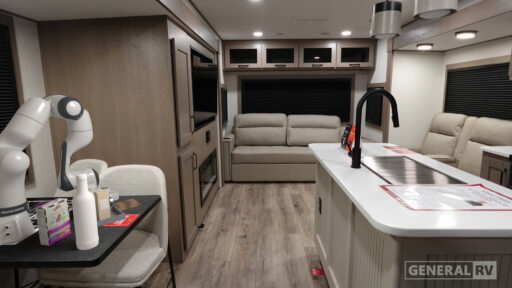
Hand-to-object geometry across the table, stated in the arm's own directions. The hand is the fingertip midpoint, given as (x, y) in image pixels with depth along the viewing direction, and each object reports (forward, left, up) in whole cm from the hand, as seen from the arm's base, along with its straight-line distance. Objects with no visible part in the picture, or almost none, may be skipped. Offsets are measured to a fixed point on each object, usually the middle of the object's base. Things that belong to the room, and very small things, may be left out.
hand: (101, 203), depth 141 cm
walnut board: (+15, +9, -8) cm, 19 cm away
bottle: (-13, -23, -8) cm, 27 cm away
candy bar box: (-21, -8, -8) cm, 24 cm away
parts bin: (0, -1, -8) cm, 8 cm away
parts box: (0, -1, -8) cm, 8 cm away
